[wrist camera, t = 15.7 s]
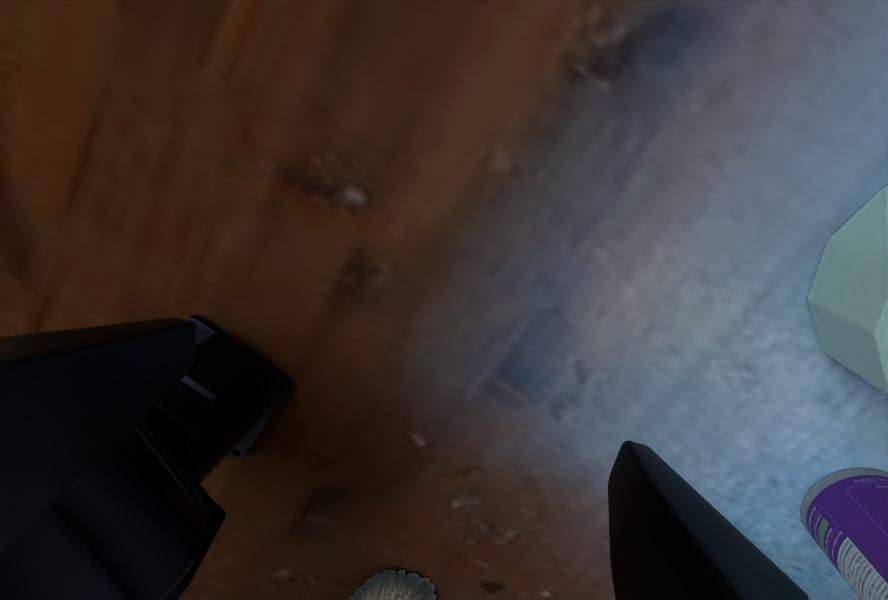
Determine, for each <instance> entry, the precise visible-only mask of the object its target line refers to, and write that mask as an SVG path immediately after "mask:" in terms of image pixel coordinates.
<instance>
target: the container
mask: <svg viewBox="0 0 888 600" xmlns="http://www.w3.org/2000/svg"><path fill="white" fill-rule="evenodd" d="M801 518H802V521H803V524H804V526H805V527H806V529H807V530H808V531H809V533H810V534H811V536H812V537H813V538H814V540H815V541H816V542H817V544H818V545H819V546H820V548H821V549H822V550H823V552H824V553H825V554H826V556H827V557H828V558H829V559H830V561H831V562H832V563H833V565H834V566H835V567H836V569H837V570H838V571H839V573H840V574H841V575H842V577H843V578H844V579H845V581H846V582H847V583H848V585H849V586H850V587H851V588H852V590H853V591H854V592H855V594H856V595H857V596H858V598H859V599H860V600H888V473H887V472H884V471H881V470H876V469H869V468H854V469H847V470H842V471H839V472H836V473H833V474H831V475H829V476H827V477H825V478H823V479H821V480H820V481H819V482H817V483H816V484H815V485H814V486H813V487H812V488H811V489H810V490H809V491H808V492H807V494H806V495H805V497H804V499H803V502H802V505H801Z"/></svg>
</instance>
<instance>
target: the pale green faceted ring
mask: <svg viewBox="0 0 888 600" xmlns="http://www.w3.org/2000/svg"><path fill="white" fill-rule="evenodd" d="M807 301H808V305H809V308H810V312H811V315H812V319H813V322H814V325H815V329H816V332H817V336H818V339H819V343H820V346H821V350H822V351H823V353H825V354H826V355H827V356H829V357H830V358H831V359H833V360H834V361H835V362H837V363H838V364H840V365H841V366H842V367H844V368H845V369H846V370H848V371H849V372H850V373H852V374H853V375H854V376H856V377H857V378H858V379H860V380H861V381H862V382H864V383H865V384H866V385H868V386H869V387H871V388H872V389H874V390H875V391H877V392H878V393H880V394H881V395H883V396H884V397H886V398H887V399H888V185H887V186H885V187H883V188H882V189H881V190H880V191H878V192H877V193H876V194H875V195H874V196H873V197H872V198H871V199H870V200H869V201H868V202H867V203H866V204H865V205H864V206H863V207H862V208H861V209H860V210H858V211H857V212H856V213H855V214H854V215H853V216H852V217H851V218H850V219H849V220H848V221H847V222H846V223H845V224H844V225H843V226H842V227H841V228H840V229H838V230H837V231H836V232H835V233H834V234H833V235H832V236H831V237H830V238H829V239H828V240H827V243H826V246H825V248H824V251H823V254H822V257H821V260H820V263H819V266H818V268H817V271H816V274H815V277H814V280H813V283H812V286H811V288H810V291H809V294H808V297H807Z"/></svg>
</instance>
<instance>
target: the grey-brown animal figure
mask: <svg viewBox="0 0 888 600" xmlns="http://www.w3.org/2000/svg"><path fill="white" fill-rule="evenodd" d="M434 590H435V586H434V584H431V583H430V580H429V579H428V578H426V577H423V578H420V577H419V575H418V574H416V573H410V574H408V575H405V571H404V570H400V571H398V572H395V570H391V569H390V570H387V571H383V572H382V573H381V574H380V573H378V574H375V575H374V576H373V577H372V578H368V579H367V580H366V581H365V584H364V585H362V586H360V587H359V588H357V589H356V591H355V593H354V595H350V596H349V598H347V599H345V600H436V598H437V597H436V595H435V594H434V593H433V591H434Z"/></svg>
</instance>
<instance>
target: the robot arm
mask: <svg viewBox="0 0 888 600" xmlns="http://www.w3.org/2000/svg"><path fill="white" fill-rule="evenodd" d="M193 323H195V324H196V327H197V328H195V326H194V324H193ZM278 382H280V383H282V384H283V387H282V386H280V385H279V383H278ZM290 387H291V381H290V379H289V378H288V377H287V376H286V375H284V374H283V373H281V372H280V371H279V370H277V369H276V368H274V367H273V366H271V365H270V364H268V363H267V362H265V361H264V360H263V359H261V358H260V357H258V356H257V355H255V354H254V353H253V352H251V351H250V350H248V349H247V348H245V347H244V346H242V345H241V344H239V343H238V342H237V341H235V340H234V339H232V338H231V337H229V336H228V335H226V334H225V333H224V332H222V331H220V330H219V329H218V328H216V327H215V326H213V325H212V324H210V323H209V322H207V321H206V320H205V319H203V318H202V317H200V316H198V315H193V316H190V317H188V318H186V319H185V320H182V319H178V318H165V319H156V320H148V321H139V322H130V323H121V324H112V325H104V326H95V327H86V328H77V329H69V330H60V331H51V332H42V333H33V334H25V335H16V336H7V337H0V600H178V599H179V598H180V596H181V595H182V594H183V592H184V591H185V590H186V588H187V587H188V585H189V584H190V582H191V580H192V579H193V577H194V575H195V573H196V571H197V569H198V568H199V566H200V564H201V562H202V560H203V558H204V556H205V554H206V552H207V551H208V549H209V547H210V545H211V543H212V541H213V539H214V537H215V535H216V534H217V532H218V530H219V528H220V526H221V524H222V522H223V520H224V519H225V517H226V513H225V511H224V510H223V509H222V507H221V506H220V505H216V504H215V502H214V501H213V500H212V498H211V497H210V496H209V494H208V493H207V492H206V491H205V489H204V488H203V487H202V485H201V484H200V483H201V482H202V481H203V479H204V478H205V477H206V476H207V475H208V474H209V473H210V472H211V471H212V470H213V469H214V468H215V467H216V466H217V465H218V464H219V463H220V462H221V461H222V460H223V459H224V458H225V457H226V456H227V455H229V456H230V457H232V458H233V459H235V460H242V459H243V458H244V457H245V456H246V455H247V454H248V452H249V451H250V449H251V448H252V446H253V445H254V443H255V442H256V440H257V438H258V437H259V435H260V434H261V432H262V431H263V429H264V428H265V426H266V425H267V423H268V422H269V420H270V418H271V417H272V415H273V414H274V412H275V411H276V409H277V408H278V406H279V405H280V403H281V402H282V400H283V398H284V397H285V395H286V394H287V392H288V391H289V389H290ZM238 450H239V451H240V452H239V451H238ZM608 502H609V536H610V560H611V570H612V578H613V585H614V592H615V598H616V600H809V597H808V595H807V594H806V593H805V592H804V591H803V590H802V589H801V588H800V587H799V586H798V585H797V584H795V583H794V582H793V581H792V580H791V579H790V578H789V577H788V576H787V575H786V574H785V573H784V572H783V571H782V570H780V569H779V568H778V567H777V566H776V565H775V564H774V563H773V562H772V561H771V560H770V559H769V558H768V557H766V556H765V555H764V554H763V553H762V552H761V551H760V550H759V549H758V548H757V547H756V546H755V545H754V544H753V543H751V542H750V541H749V540H748V539H747V538H746V537H745V536H744V535H743V534H742V533H741V532H740V531H739V530H738V529H736V528H735V527H734V526H733V525H732V524H731V523H730V522H729V521H728V520H727V519H726V518H725V517H724V516H722V515H721V514H720V513H719V512H718V511H717V510H716V509H715V508H714V507H713V506H712V505H711V504H710V503H709V502H707V501H706V500H705V499H704V498H703V497H702V496H701V495H700V494H699V493H698V492H697V491H696V490H695V489H694V488H692V487H691V486H690V485H689V484H688V483H687V482H686V481H685V480H684V479H683V478H682V477H681V476H680V475H679V474H677V473H676V472H675V471H674V470H673V469H672V468H671V467H670V466H669V465H668V464H667V463H666V462H665V461H663V460H662V459H661V458H660V457H659V456H658V455H657V454H656V453H655V452H654V451H653V450H652V449H651V448H650V447H648V446H646V445H643V444H640V443H636V442H632V441H625V442H624V443H623V444H622V446H621V448H620V450H619V453H618V455H617V458H616V460H615V463H614V466H613V468H612V471H611V473H610V476H609V481H608Z"/></svg>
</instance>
